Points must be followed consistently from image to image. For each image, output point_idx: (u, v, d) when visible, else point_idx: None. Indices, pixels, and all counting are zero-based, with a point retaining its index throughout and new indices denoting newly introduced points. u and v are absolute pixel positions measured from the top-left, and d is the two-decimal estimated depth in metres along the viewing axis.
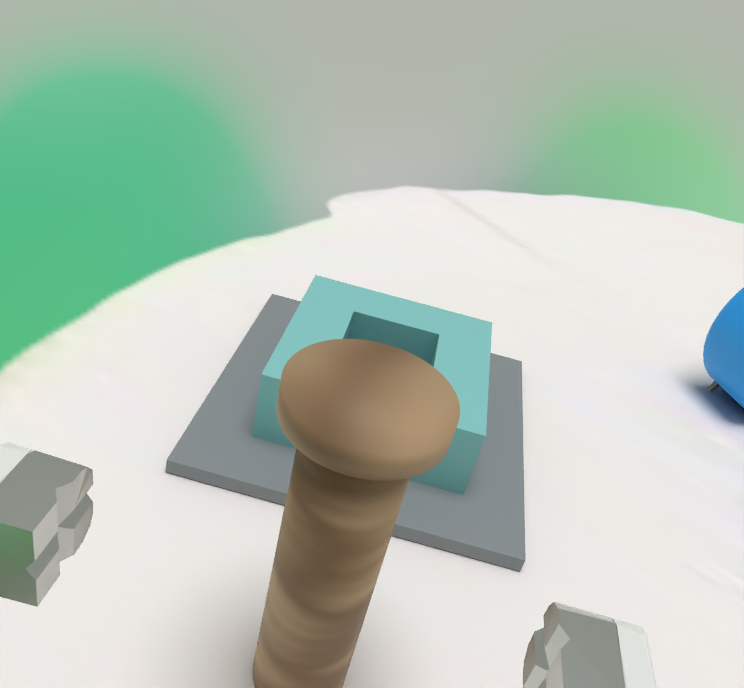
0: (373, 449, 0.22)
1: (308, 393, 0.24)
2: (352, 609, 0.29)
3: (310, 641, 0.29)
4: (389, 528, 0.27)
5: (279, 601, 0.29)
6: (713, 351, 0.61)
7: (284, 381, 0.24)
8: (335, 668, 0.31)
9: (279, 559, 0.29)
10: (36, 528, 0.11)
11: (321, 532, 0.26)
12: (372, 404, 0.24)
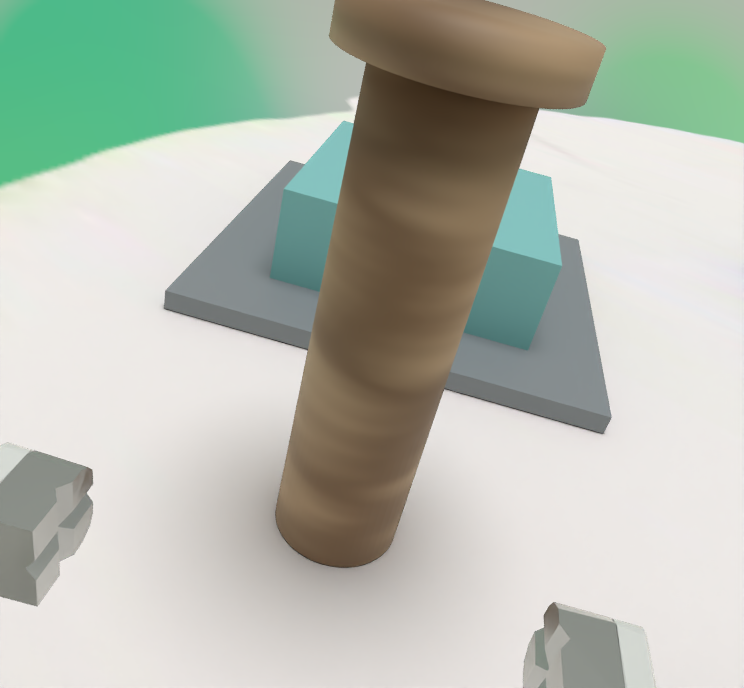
0: (492, 36, 0.14)
1: None
2: (423, 388, 0.20)
3: (362, 439, 0.21)
4: (485, 251, 0.19)
5: (319, 381, 0.21)
6: None
7: None
8: (391, 492, 0.23)
9: (321, 315, 0.20)
10: (36, 528, 0.11)
11: (390, 239, 0.18)
12: (477, 16, 0.16)
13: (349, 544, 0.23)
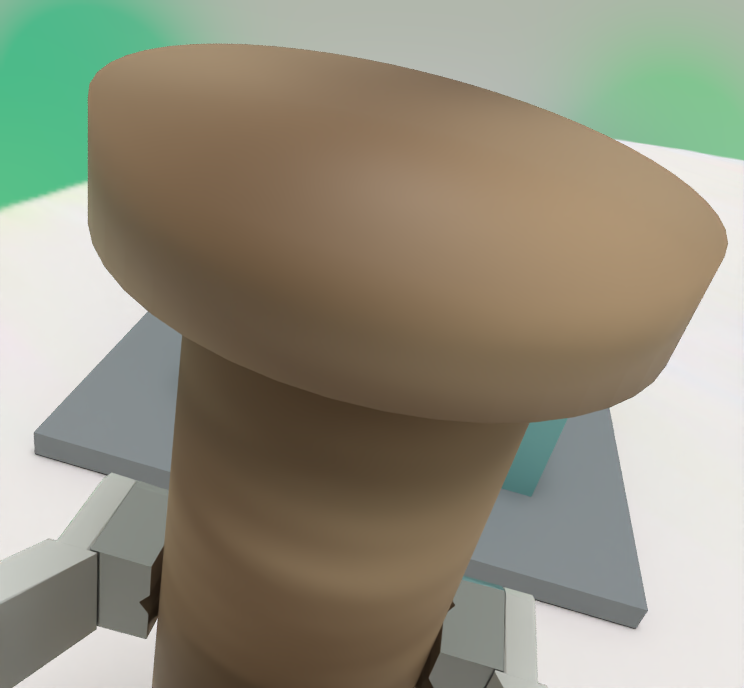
0: (448, 270, 0.05)
1: (191, 107, 0.07)
2: None
3: None
4: (455, 585, 0.09)
5: None
6: None
7: (110, 76, 0.07)
8: None
9: (158, 656, 0.11)
10: (154, 563, 0.10)
11: (253, 602, 0.08)
12: (424, 158, 0.07)
13: None
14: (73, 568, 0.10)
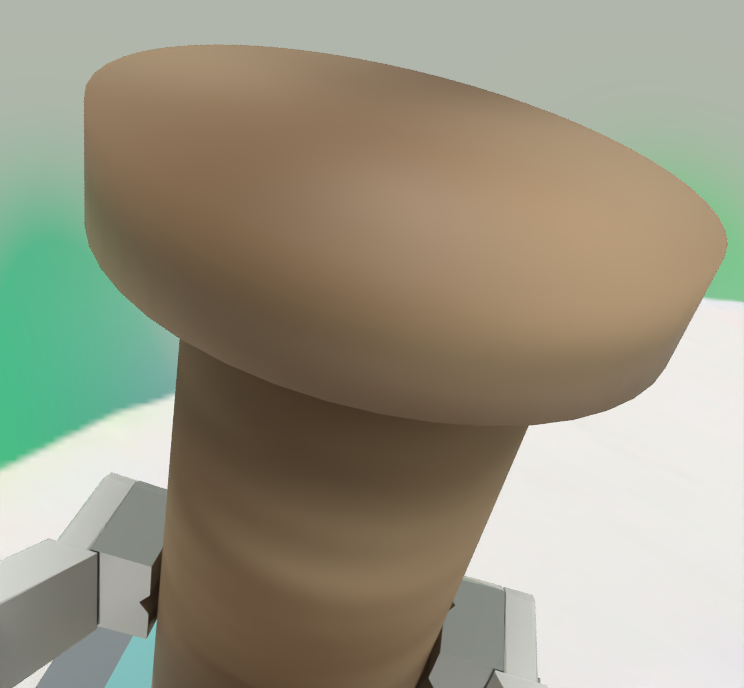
0: (445, 273, 0.05)
1: (188, 109, 0.07)
2: None
3: None
4: (454, 588, 0.09)
5: None
6: None
7: (107, 77, 0.07)
8: None
9: (157, 658, 0.11)
10: (154, 563, 0.10)
11: (252, 605, 0.08)
12: (422, 160, 0.07)
13: None
14: (73, 568, 0.10)
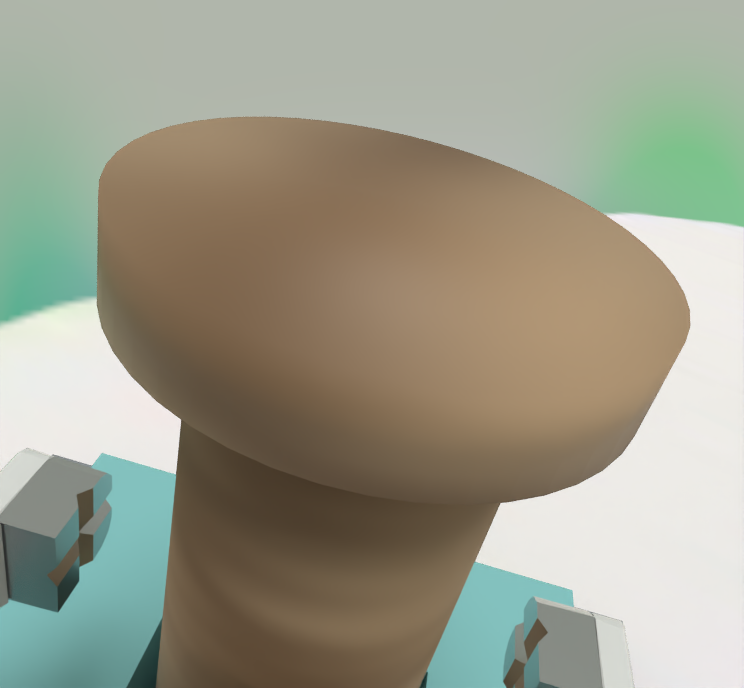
0: (426, 376, 0.05)
1: (193, 200, 0.07)
2: None
3: None
4: (441, 628, 0.10)
5: None
6: None
7: (118, 168, 0.07)
8: None
9: None
10: (59, 535, 0.11)
11: (250, 647, 0.09)
12: (409, 245, 0.07)
13: None
14: None
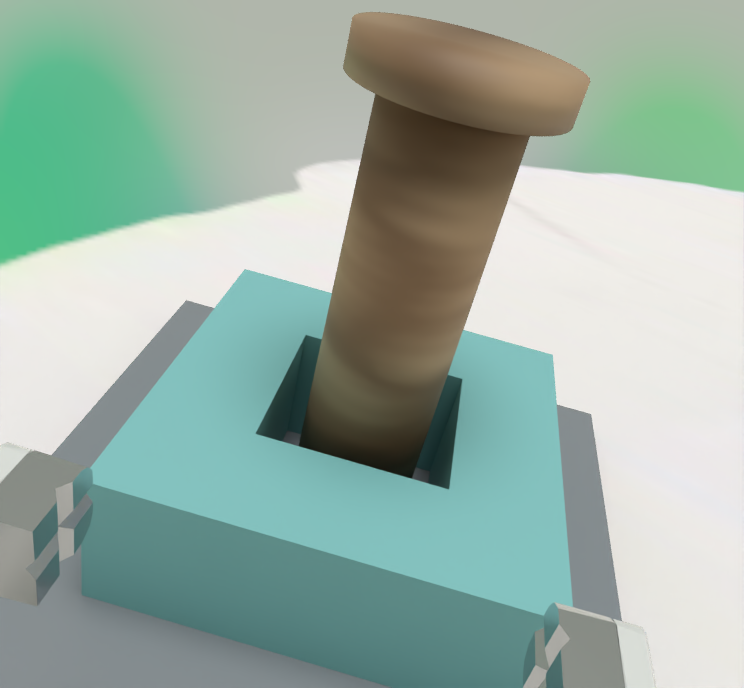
0: (489, 74, 0.16)
1: (390, 32, 0.18)
2: (425, 383, 0.22)
3: (370, 429, 0.23)
4: (482, 259, 0.21)
5: (330, 377, 0.23)
6: None
7: (357, 21, 0.18)
8: None
9: (333, 316, 0.22)
10: (36, 528, 0.11)
11: (398, 249, 0.20)
12: (475, 52, 0.18)
13: None
14: None
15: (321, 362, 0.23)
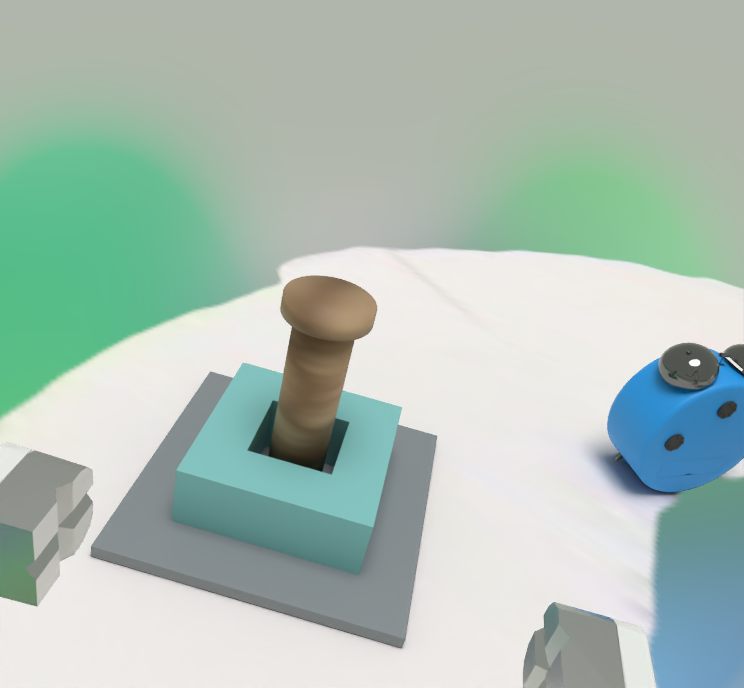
0: (329, 323, 0.45)
1: (297, 298, 0.47)
2: (321, 428, 0.51)
3: (298, 448, 0.52)
4: (341, 378, 0.50)
5: (280, 425, 0.52)
6: (614, 427, 0.66)
7: (285, 293, 0.47)
8: None
9: (281, 399, 0.51)
10: (36, 528, 0.11)
11: (304, 376, 0.49)
12: (330, 305, 0.47)
13: None
14: None
15: (276, 418, 0.52)
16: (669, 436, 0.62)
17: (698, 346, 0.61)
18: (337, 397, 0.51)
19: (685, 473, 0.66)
